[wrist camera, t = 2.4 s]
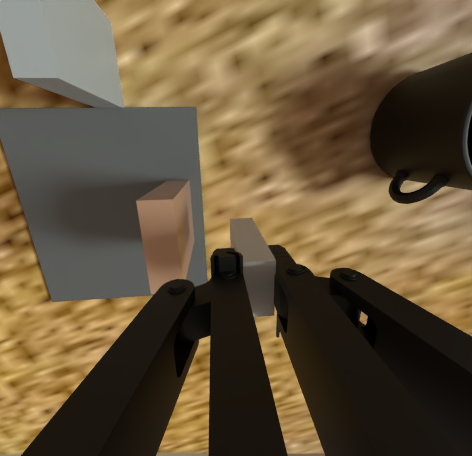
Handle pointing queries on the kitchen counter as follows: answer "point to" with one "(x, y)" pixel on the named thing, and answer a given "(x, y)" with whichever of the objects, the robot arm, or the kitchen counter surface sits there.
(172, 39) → the kitchen counter surface
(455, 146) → the mug
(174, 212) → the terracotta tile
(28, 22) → the grey tile
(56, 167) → the mat
